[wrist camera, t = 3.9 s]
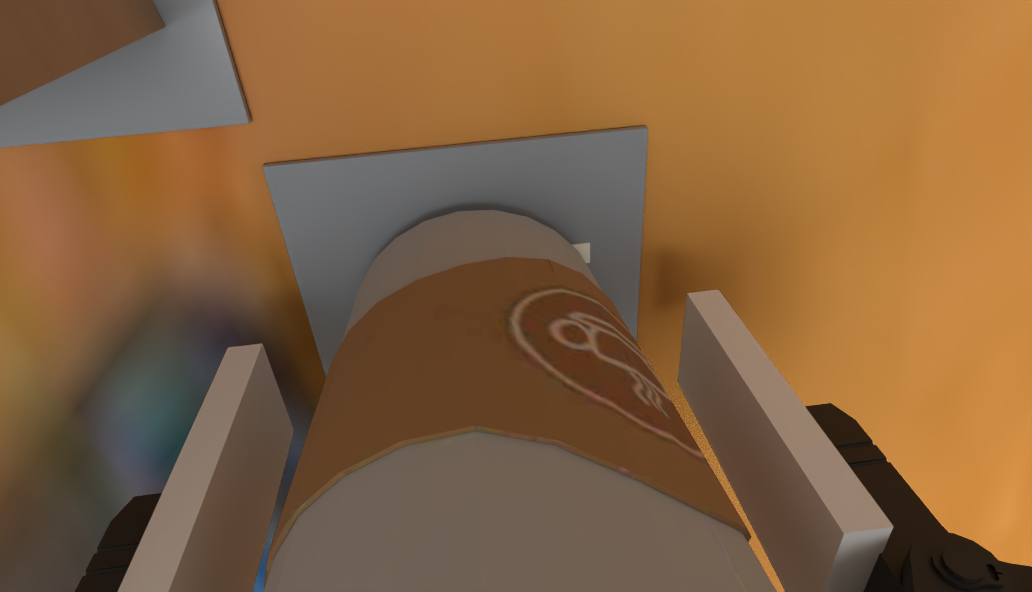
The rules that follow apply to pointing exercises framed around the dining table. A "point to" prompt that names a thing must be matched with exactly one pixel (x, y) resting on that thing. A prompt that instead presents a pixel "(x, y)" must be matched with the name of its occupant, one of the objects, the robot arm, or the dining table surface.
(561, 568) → the coffee cup
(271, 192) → the tile
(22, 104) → the code tile
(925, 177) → the dining table surface
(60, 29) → the brown cube
